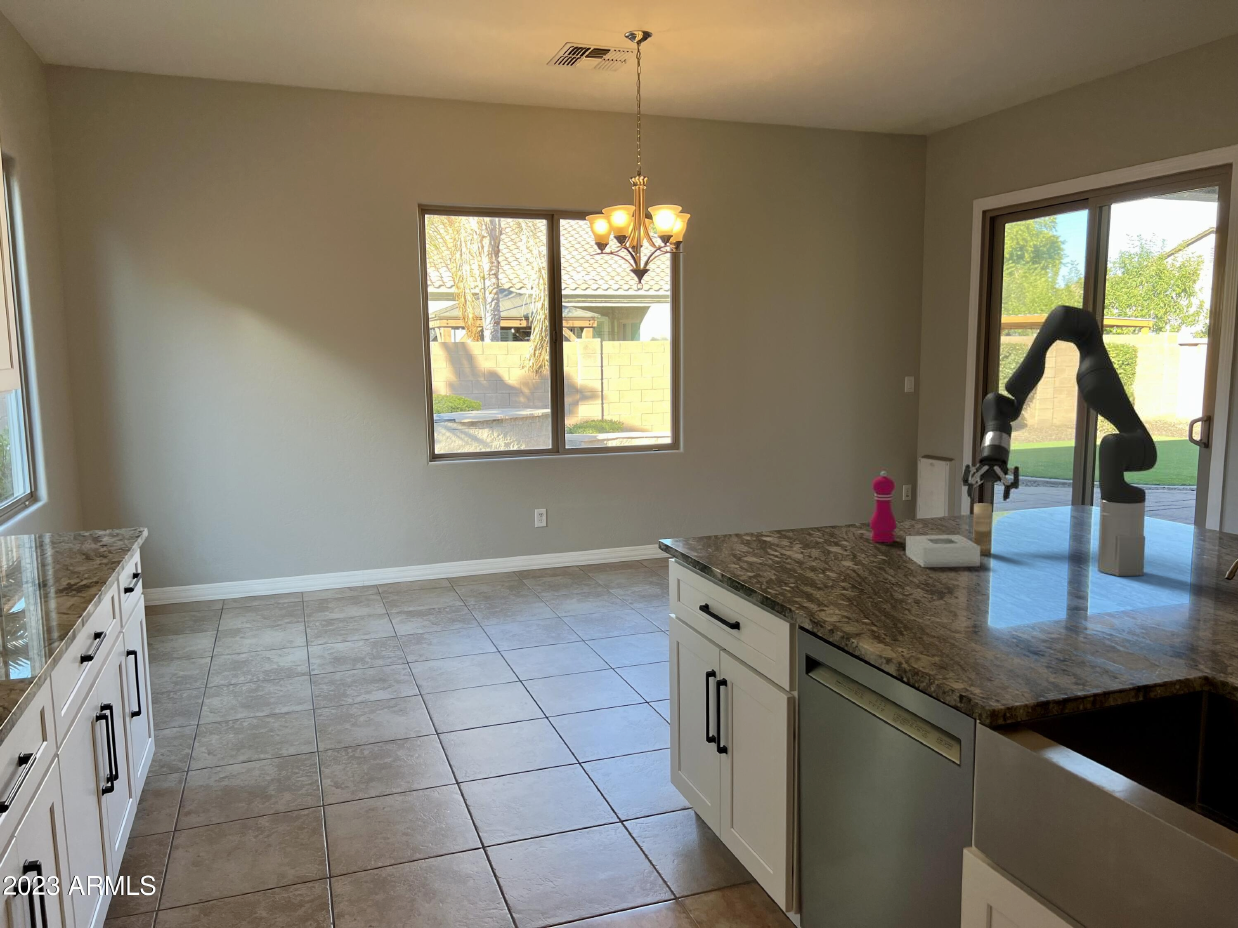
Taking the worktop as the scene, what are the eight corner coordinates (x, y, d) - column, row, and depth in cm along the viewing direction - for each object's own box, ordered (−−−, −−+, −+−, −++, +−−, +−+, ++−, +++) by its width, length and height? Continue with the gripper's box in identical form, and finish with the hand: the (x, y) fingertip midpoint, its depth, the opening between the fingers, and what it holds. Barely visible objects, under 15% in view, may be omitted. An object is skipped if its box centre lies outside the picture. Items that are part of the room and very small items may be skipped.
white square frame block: (979, 566, 214) (980, 546, 213) (923, 567, 214) (923, 547, 214) (958, 553, 228) (959, 534, 227) (905, 554, 228) (906, 536, 228)
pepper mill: (893, 537, 249) (893, 469, 247) (898, 543, 242) (899, 472, 240) (867, 537, 250) (868, 469, 248) (872, 543, 243) (873, 473, 241)
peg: (993, 554, 226) (994, 505, 224) (976, 555, 226) (977, 506, 224) (986, 550, 230) (988, 503, 228) (970, 551, 230) (971, 503, 228)
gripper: (966, 442, 242) (958, 488, 233) (1022, 443, 234) (1015, 491, 226) (969, 458, 247) (961, 504, 239) (1023, 460, 239) (1017, 508, 231)
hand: (987, 498), depth 232 cm, fingers open, 8 cm apart
